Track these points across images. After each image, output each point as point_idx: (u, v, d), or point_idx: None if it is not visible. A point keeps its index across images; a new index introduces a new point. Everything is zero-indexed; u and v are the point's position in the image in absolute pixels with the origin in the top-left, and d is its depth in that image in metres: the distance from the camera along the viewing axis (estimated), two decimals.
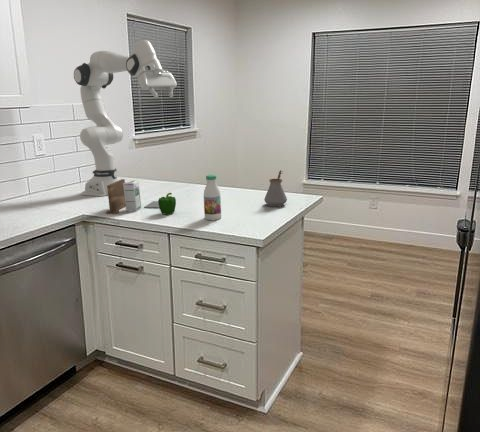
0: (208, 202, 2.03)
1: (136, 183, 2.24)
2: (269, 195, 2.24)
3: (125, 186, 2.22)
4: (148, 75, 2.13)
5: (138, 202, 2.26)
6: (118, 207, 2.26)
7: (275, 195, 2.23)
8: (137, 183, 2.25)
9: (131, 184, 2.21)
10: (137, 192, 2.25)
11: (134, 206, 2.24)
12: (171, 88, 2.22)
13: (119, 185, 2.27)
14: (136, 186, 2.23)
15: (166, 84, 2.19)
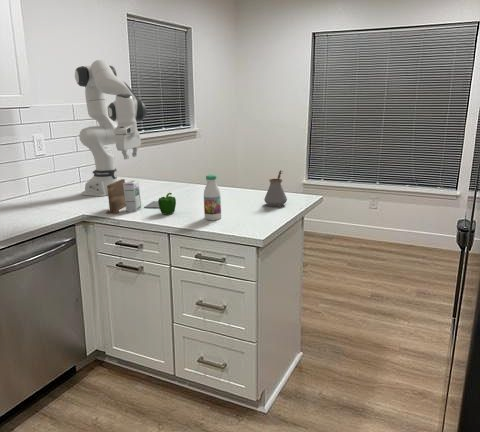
0: (208, 202, 2.03)
1: (136, 183, 2.24)
2: (269, 195, 2.24)
3: (125, 186, 2.22)
4: (126, 137, 2.12)
5: (138, 202, 2.26)
6: (118, 207, 2.26)
7: (275, 195, 2.23)
8: (137, 183, 2.25)
9: (131, 184, 2.21)
10: (137, 192, 2.25)
11: (134, 206, 2.24)
12: (136, 148, 2.25)
13: (119, 185, 2.27)
14: (136, 186, 2.23)
15: (135, 145, 2.21)
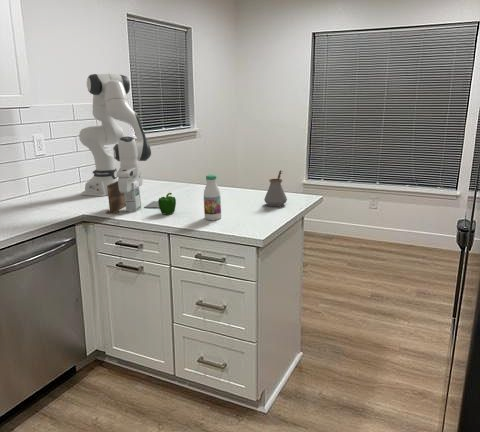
0: (208, 202, 2.03)
1: (136, 183, 2.24)
2: (269, 195, 2.24)
3: None
4: (129, 180, 2.17)
5: (138, 202, 2.26)
6: (118, 207, 2.26)
7: (275, 195, 2.23)
8: (137, 183, 2.25)
9: None
10: (137, 192, 2.25)
11: (134, 206, 2.24)
12: None
13: None
14: (136, 186, 2.23)
15: None
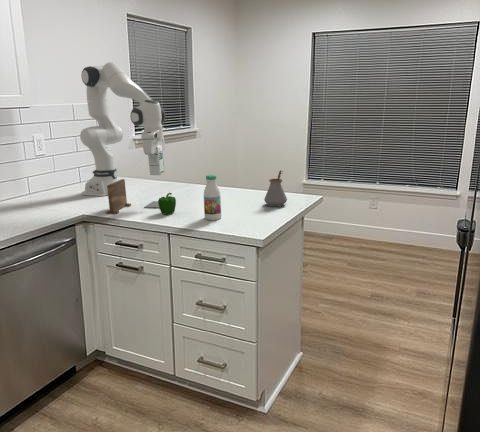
0: (208, 202, 2.03)
1: (160, 147, 2.27)
2: (269, 195, 2.24)
3: None
4: (153, 142, 2.20)
5: (161, 166, 2.29)
6: (118, 207, 2.26)
7: (275, 195, 2.23)
8: (161, 147, 2.28)
9: None
10: (161, 157, 2.28)
11: (158, 170, 2.27)
12: None
13: (119, 185, 2.27)
14: (160, 150, 2.26)
15: None
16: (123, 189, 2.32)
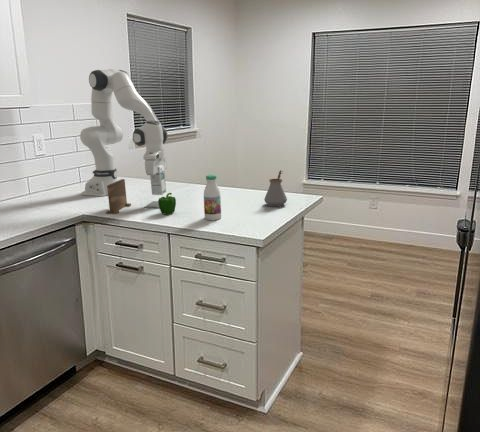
0: (208, 202, 2.03)
1: (162, 167, 2.29)
2: (269, 195, 2.24)
3: None
4: (155, 162, 2.23)
5: (163, 186, 2.31)
6: (118, 207, 2.26)
7: (275, 195, 2.23)
8: (162, 167, 2.30)
9: None
10: (163, 176, 2.30)
11: (160, 190, 2.29)
12: None
13: (119, 185, 2.27)
14: (162, 170, 2.29)
15: None
16: (123, 189, 2.32)
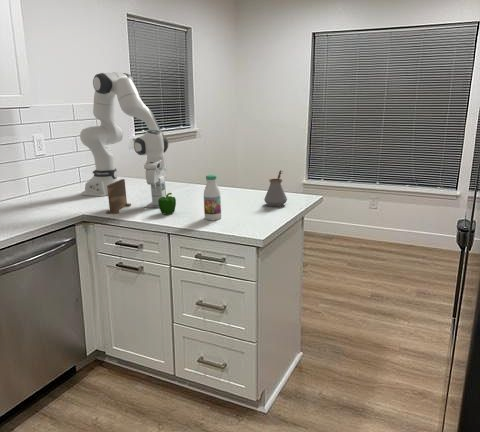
0: (208, 202, 2.03)
1: (162, 178, 2.31)
2: (269, 195, 2.24)
3: None
4: (156, 171, 2.24)
5: (164, 196, 2.33)
6: (118, 207, 2.26)
7: (275, 195, 2.23)
8: (163, 178, 2.32)
9: None
10: (163, 187, 2.32)
11: None
12: None
13: (119, 185, 2.27)
14: (162, 181, 2.31)
15: None
16: (123, 189, 2.32)
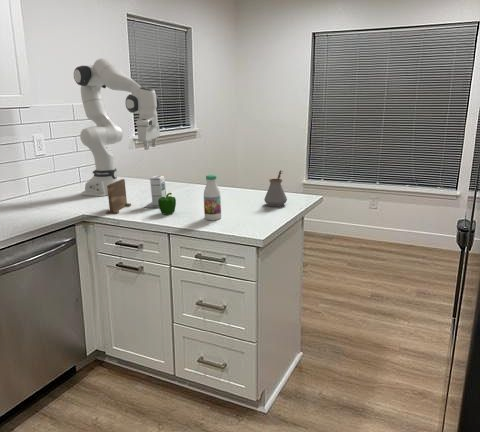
0: (208, 202, 2.03)
1: (162, 178, 2.31)
2: (269, 195, 2.24)
3: (152, 181, 2.29)
4: (148, 129, 2.23)
5: (164, 196, 2.33)
6: (118, 207, 2.26)
7: (275, 195, 2.23)
8: (163, 178, 2.32)
9: (158, 179, 2.28)
10: (163, 187, 2.32)
11: None
12: (155, 139, 2.36)
13: (119, 185, 2.27)
14: (162, 181, 2.31)
15: (155, 136, 2.32)
16: (123, 189, 2.32)
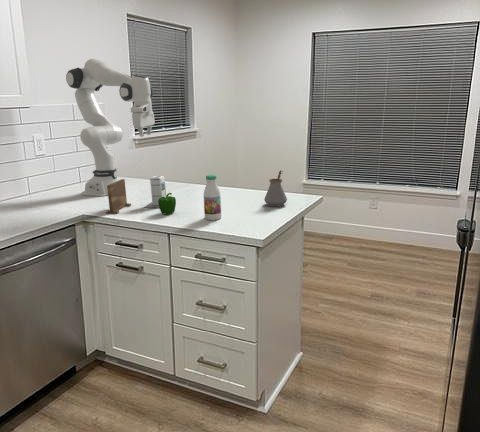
0: (208, 202, 2.03)
1: (162, 178, 2.31)
2: (269, 195, 2.24)
3: (152, 181, 2.29)
4: (142, 115, 2.26)
5: (164, 196, 2.33)
6: (118, 207, 2.26)
7: (275, 195, 2.23)
8: (163, 178, 2.32)
9: (158, 179, 2.28)
10: (163, 187, 2.32)
11: None
12: (150, 127, 2.39)
13: (119, 185, 2.27)
14: (162, 181, 2.31)
15: (149, 124, 2.35)
16: (123, 189, 2.32)
